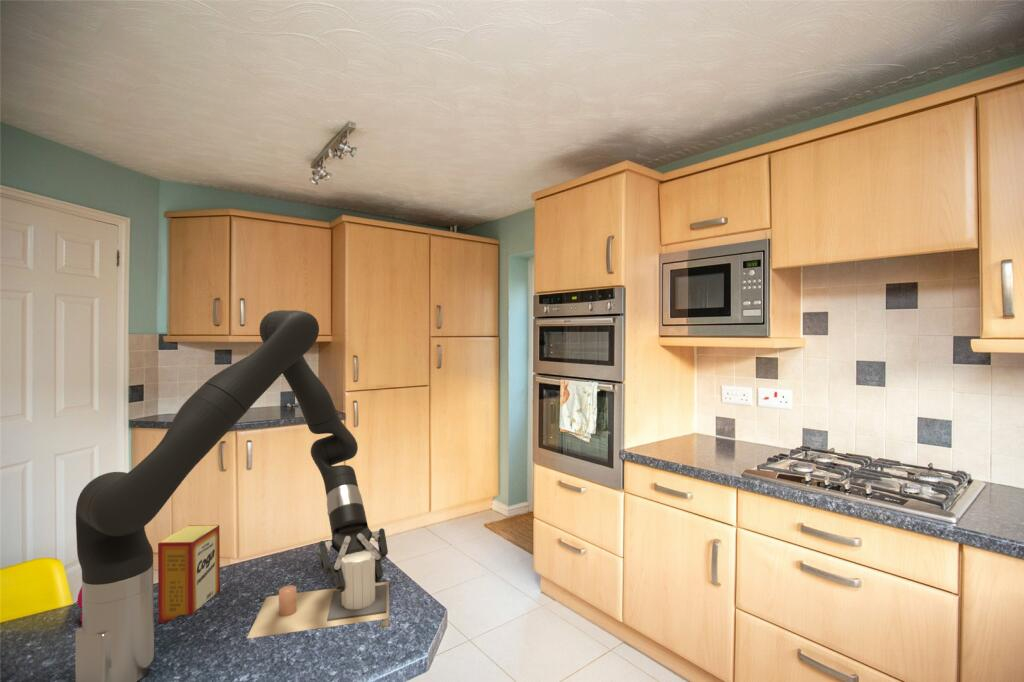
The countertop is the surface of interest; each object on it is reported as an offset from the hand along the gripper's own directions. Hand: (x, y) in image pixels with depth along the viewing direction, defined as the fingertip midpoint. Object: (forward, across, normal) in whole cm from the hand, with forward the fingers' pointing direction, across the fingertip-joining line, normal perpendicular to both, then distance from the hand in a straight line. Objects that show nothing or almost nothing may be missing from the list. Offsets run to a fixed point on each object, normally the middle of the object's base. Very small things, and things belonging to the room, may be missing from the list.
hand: (360, 585), depth 99 cm
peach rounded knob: (-1, -13, +7) cm, 15 cm away
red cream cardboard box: (-11, -29, +19) cm, 37 cm away
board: (+2, -6, +7) cm, 9 cm away
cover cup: (+2, 0, +4) cm, 4 cm away
